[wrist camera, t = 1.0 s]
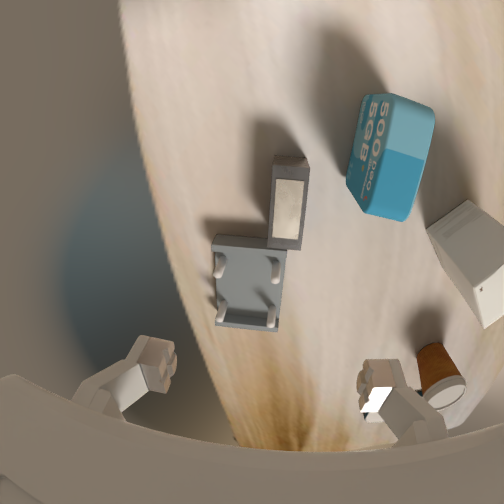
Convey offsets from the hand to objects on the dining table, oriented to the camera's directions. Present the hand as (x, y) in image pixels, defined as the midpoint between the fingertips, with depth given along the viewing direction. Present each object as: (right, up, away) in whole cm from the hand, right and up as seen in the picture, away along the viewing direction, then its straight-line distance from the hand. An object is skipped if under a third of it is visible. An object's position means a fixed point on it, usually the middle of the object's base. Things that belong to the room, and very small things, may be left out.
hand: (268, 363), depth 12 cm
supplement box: (+31, +7, +26) cm, 41 cm away
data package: (+14, +18, +22) cm, 32 cm away
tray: (-1, 0, +33) cm, 33 cm away
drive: (+4, +12, +26) cm, 29 cm away
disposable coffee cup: (+36, -16, +38) cm, 54 cm away
